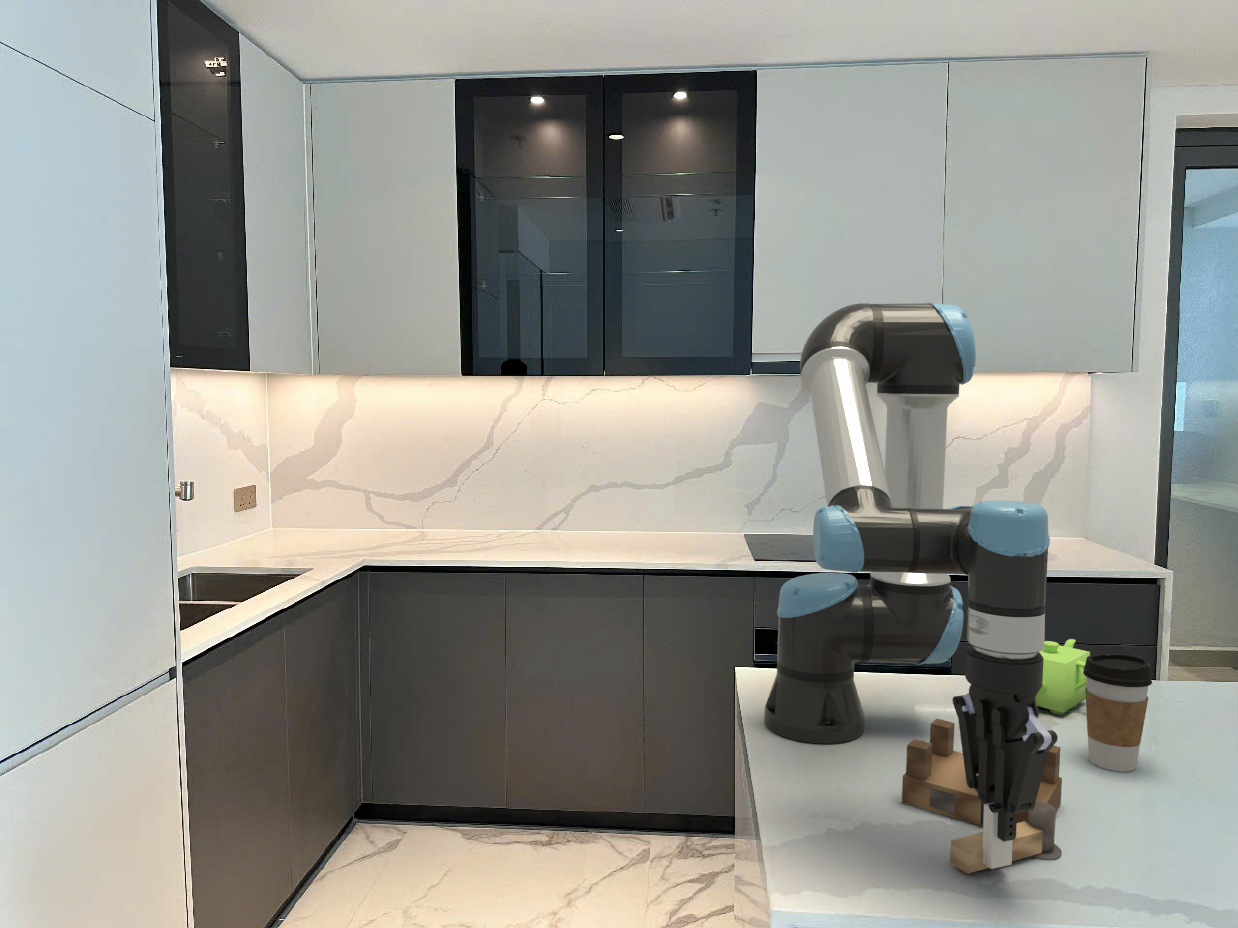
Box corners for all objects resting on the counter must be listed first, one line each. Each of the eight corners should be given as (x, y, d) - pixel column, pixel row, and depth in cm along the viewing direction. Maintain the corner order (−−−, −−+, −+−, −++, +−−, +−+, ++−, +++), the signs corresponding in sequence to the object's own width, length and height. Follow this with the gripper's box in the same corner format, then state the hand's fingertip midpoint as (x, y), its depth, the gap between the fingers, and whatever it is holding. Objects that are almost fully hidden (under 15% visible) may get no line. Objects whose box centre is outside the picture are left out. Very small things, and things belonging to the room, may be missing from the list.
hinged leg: (1038, 837, 102) (1040, 799, 102) (1059, 848, 100) (1061, 810, 99) (949, 861, 97) (950, 821, 96) (968, 874, 94) (970, 833, 94)
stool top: (890, 813, 109) (892, 754, 108) (932, 770, 121) (934, 717, 121) (1056, 863, 97) (1060, 798, 97) (1084, 810, 110) (1087, 752, 109)
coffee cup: (1157, 778, 119) (1163, 670, 118) (1089, 772, 121) (1095, 665, 120) (1134, 753, 128) (1140, 652, 126) (1070, 748, 129) (1076, 648, 128)
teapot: (1070, 691, 155) (1074, 631, 154) (1115, 719, 141) (1119, 654, 140) (984, 691, 154) (987, 631, 153) (1021, 719, 141) (1025, 654, 140)
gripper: (934, 635, 98) (928, 840, 100) (1021, 670, 86) (1012, 902, 88) (989, 629, 100) (982, 829, 102) (1081, 662, 88) (1072, 888, 90)
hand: (996, 863), depth 95 cm, fingers closed
